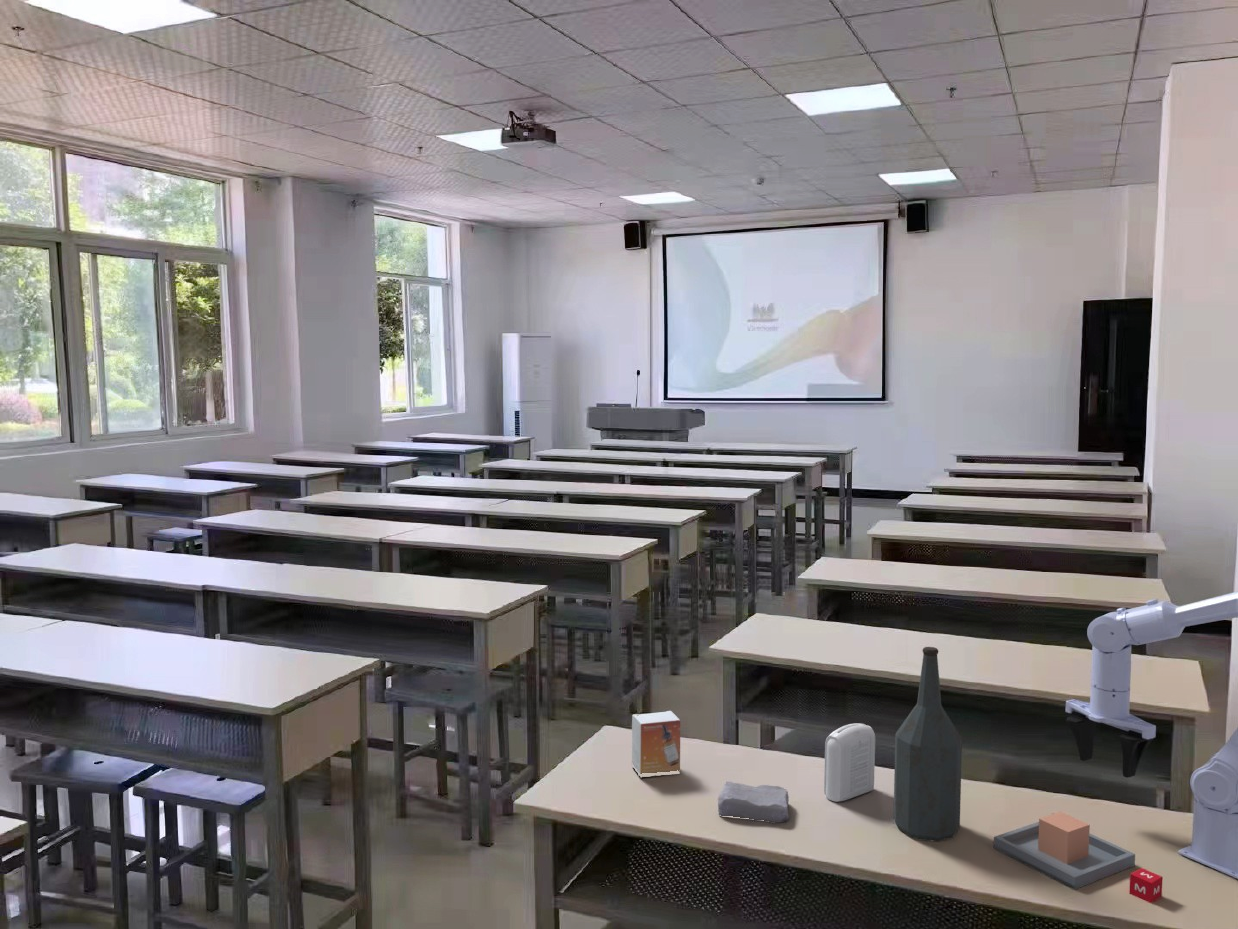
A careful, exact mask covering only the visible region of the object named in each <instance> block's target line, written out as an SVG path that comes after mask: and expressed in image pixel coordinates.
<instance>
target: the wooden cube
mask: <svg viewBox="0 0 1238 929" xmlns="http://www.w3.org/2000/svg"><path fill="white" fill-rule="evenodd" d="M1038 822H1039V838H1038V850H1039V851H1041V852H1043V853H1045V854H1047V855H1049V856H1051V857H1053V858H1055V859H1057V860H1059V861H1061V862H1063V863H1065V864H1069V863H1072V862H1075V861H1077V860H1080V859H1083V858H1085V857H1088V856H1089V833H1090V829H1091V828H1090V825H1091V824H1089V823H1088V822H1084V821H1082V820H1080V819H1078V818H1076V817H1073V816H1071V815H1069V814H1066V813H1064V812H1062V811H1059V812H1055V813H1053V814H1049V815H1047V816H1043V817H1041V818H1038Z"/></svg>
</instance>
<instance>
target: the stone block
mask: <svg viewBox="0 0 1238 929" xmlns="http://www.w3.org/2000/svg"><path fill="white" fill-rule="evenodd" d="M789 798H790V796H789V791H788V790H787V788H784V787H782V786H780V785H770V784H761V785H757V786H752V785H747V784H744V783H738V782H732V781H726V782H725V783H724V787H723V788H721V790H720V792H719V794H718V797H717V807H718V810H717V811H718V812H719V813H718V815H721V816H733V817H740V818H749V819H754V820H764V821H763V822H765V821H769V822H768V823H773V822H777V823H786V822H787V821H788V820H789V812H788V807H789ZM787 806H788V807H787ZM754 820H753V821H754Z"/></svg>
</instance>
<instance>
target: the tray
mask: <svg viewBox="0 0 1238 929" xmlns="http://www.w3.org/2000/svg"><path fill="white" fill-rule="evenodd" d="M1038 838H1039V821H1036V822H1034V823H1031V824H1028V825H1025V826H1022V827H1019V828H1016V829H1013V830H1009V831H1006V832H1004V833H1002V834H1001V833H1000V834H998V835H995V836H994V837H993V849H995V850H997V851H998V852H1000V853H1002V854H1004V855H1007V856H1009V857H1011V858H1013V859H1014V860H1016V861H1018V862H1021V863H1022V864H1024V865H1026V866H1028V867H1030V868H1032V869H1033V870H1035V871H1038V872H1039V871H1040V872H1039V873H1042V874H1044V875H1045V876H1047V877H1049V878H1051V879H1053V880H1055V881H1057V882H1058V883H1060V884H1062V885H1065V886H1067V887H1069V888H1071V889H1073V890H1076V889H1079V888H1081V887H1084V886H1086V885H1089V884H1091V883H1094V882H1096V881H1099V880H1102V879H1105V878H1107V877H1110V876H1112V875H1114V873H1115V874H1116V873H1120V872H1121V871H1124V870H1127V869H1130V868H1132V867H1135V864H1136V853H1134V852H1132V851H1130V850H1127V849H1125V848H1122V847H1121V846H1118V845H1116V844H1114V843H1112V842H1110V841H1107V840H1105V839H1104V838H1103V839H1102V838H1101V837H1098V836H1096V835H1094V834H1091V833H1090V832H1089V856H1088V857H1085V858H1083V859H1080V860H1077V861H1075V862H1072V863H1069V864H1065V863H1063V862H1061V861H1059V860H1057V859H1055V858H1053V857H1051V856H1049V855H1047V854H1045V853H1043V852H1041V851H1039V850H1038ZM1104 877H1105V878H1104Z"/></svg>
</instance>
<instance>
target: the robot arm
mask: <svg viewBox="0 0 1238 929" xmlns="http://www.w3.org/2000/svg"><path fill="white" fill-rule="evenodd" d="M1145 603H1146V604H1145V605H1141V606H1137V607H1132V608H1128V609H1127V608H1126V607H1119V608H1117V609H1116V611H1112V612H1108V613H1106V614H1104V615H1101V616H1099V617H1096V618H1094V619H1093V620H1092V621H1091V622H1090V623H1089V625H1088V627H1087V630H1086V632H1087V633H1086V634H1087V639H1088V641H1089V643H1090V644H1091V646H1092V648H1091V649H1092V650H1091V669H1090V694H1089V699H1090V700H1089V702H1087V701H1086V702H1085V701H1081V700H1077V699H1074V698H1073V699H1072V698H1071V699H1069V700H1066V701H1065V713H1068V714H1070V716H1068V717H1066V723H1067V725H1068V727H1069V728H1070V731H1071V733H1072V734H1073V737H1074V739H1075V744H1076V746H1077V750H1078V756H1079V759H1080V761H1083V762H1085V761H1088V760H1092V757H1093V752H1094V751H1093V750H1094V739H1095V732H1096V727H1097V724H1098V723H1103V724H1105V725H1107V726H1111V727H1114V728H1117V729H1120V730H1123V731H1126V732H1128V733H1124V734H1121V735H1120V734H1119V736H1118V738H1119V742H1120V747H1121V750H1122V751H1121V752H1122V776H1123V777H1125V778H1127V779H1128V778H1131V777H1133V776H1134V777H1135V776H1136V773H1137V770H1138V766H1139V764H1140V761H1141V758H1142V756H1143V754H1144V752H1145V751H1146V750H1147V748H1148V746H1149V745H1150V744H1151V742H1152V741H1153V739H1154V738H1156V737H1157V736H1156V734H1157V733H1156V732H1157V726H1156V725H1155V724H1153V723H1150V722H1147V721H1145V720H1143V719H1142V718H1140V717H1137V716H1136V715H1134V714H1132V713H1130V704H1131V702H1130V700H1131V675H1132V672H1131V671H1132V645H1133V646H1139V645H1145V644H1150V643H1154V642H1159V641H1165V640H1170V639H1174V638H1175V639H1176V638H1179V637H1180V636H1181V635H1182V632H1183V631H1184V629H1185V628H1186V627H1190V626H1197V625H1201V624H1206V623H1207V624H1208V623H1212V622H1218V621H1224V620H1229V619H1230V620H1231V619H1235V618H1236V619H1237V618H1238V591H1234V592H1233V591H1232V592H1230V593H1225V594H1222V595H1218V596H1214V597H1210V598H1207V599H1203V600H1198V601H1195V602H1191V603H1188V604H1183V605H1176V604H1174V603H1172V602H1169V601H1167V600H1161V601H1159V599H1158V598H1155V599H1154V598H1153V599H1149V600H1147V601H1146V602H1145ZM1189 780H1190V781H1189V782H1190V788H1191V791H1192V793H1193V797H1194V798H1193V815H1192V831H1191V832H1192V834H1191V844H1190V845H1188V846H1185V847H1183V848H1181V849H1178V853H1179V855H1182V856H1184V857H1187V858H1188V859H1190V860H1193V861H1196V862H1197V863H1200V864H1202V865H1205V866H1207V867H1209V868H1212V869H1215V870H1217V871H1219V872H1221V873H1223V874H1225V875H1228V876H1230V877H1232V878H1235V879H1237V880H1238V726H1237V727H1236V729H1235V730H1234V731H1233V733H1232V734H1231V735H1230V736H1229V739H1228V740H1227V741H1226V742H1225V744H1224V745H1223V746H1222V747H1221V748H1220V749H1219V751H1218V752H1216V753H1214V754H1213V755H1212V756H1211V757H1210V759H1209V760H1208V761H1207V762H1205V764H1203V765H1202V766H1201V767H1198V768H1197V769H1195V770H1194V771H1193V772H1192V774H1191V775H1190V779H1189Z"/></svg>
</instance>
